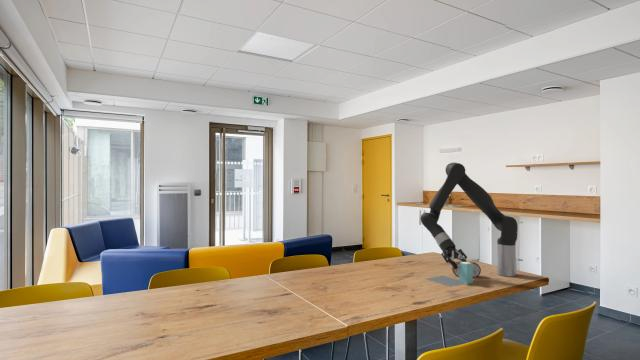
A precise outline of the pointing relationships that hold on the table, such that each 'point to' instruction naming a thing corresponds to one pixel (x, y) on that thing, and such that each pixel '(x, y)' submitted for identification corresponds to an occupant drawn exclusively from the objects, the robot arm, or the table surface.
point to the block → (466, 272)
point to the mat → (445, 280)
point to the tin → (475, 269)
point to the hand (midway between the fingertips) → (462, 267)
